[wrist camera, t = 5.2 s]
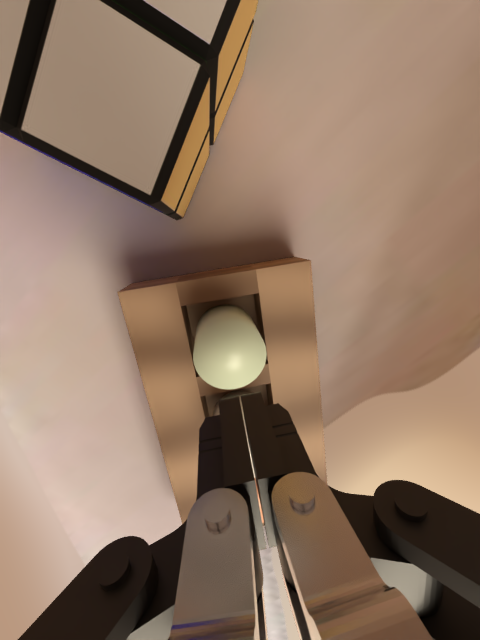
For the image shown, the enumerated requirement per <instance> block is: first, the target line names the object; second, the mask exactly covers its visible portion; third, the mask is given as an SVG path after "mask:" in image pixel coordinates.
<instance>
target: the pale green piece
mask: <svg viewBox="0 0 480 640" xmlns="http://www.w3.org/2000/svg"><path fill="white" fill-rule="evenodd" d="M266 355H267V354H266V346H265V343H264V341H263V339H262V337H261V335H260V333H259V331H258V330H257V328H256V326H255V324H254V322H253V320H252V318H251V317H250V315H249V314H248V313H247V312H246V311H245V310H243V309H242V308H240V307H238V306H235V305H230V304H223V305H218V306H215V307H213V308H211V309H209V310H208V311H206V312H205V313H204V314H203V316H202V317H201V318H200V320H199V322H198V325H197V329H196V337H195V344H194V352H193V361H194V366H195V369H196V371H197V373H198V374H199V376H200V377H201V378H202V379H203V380H204V381H205V382H207V383H208V384H210V385H211V386H213V387H216V388H220V389H237V388H241V387H244V386H246V385H248V384H250V383H251V382H252V381H254V380H255V379H256V378H257V377H258V376H259V374H260V373H261V372H262V370H263V368H264V365H265V362H266Z"/></svg>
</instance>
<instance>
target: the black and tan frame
mask: <svg viewBox="0 0 480 640" xmlns="http://www.w3.org/2000/svg"><path fill="white" fill-rule="evenodd" d="M257 4H258V0H0V132H2V133H3V134H5V135H7V136H9V137H11V138H13V139H15V140H17V141H19V142H21V143H23V144H25V145H27V146H29V147H31V148H33V149H35V150H37V151H39V152H41V153H43V154H45V155H47V156H49V157H51V158H53V159H55V160H57V161H59V162H61V163H63V164H65V165H67V166H69V167H71V168H73V169H75V170H77V171H79V172H81V173H83V174H85V175H87V176H89V177H91V178H93V179H95V180H97V181H99V182H101V183H103V184H105V185H107V186H109V187H111V188H113V189H115V190H117V191H119V192H121V193H123V194H125V195H127V196H129V197H131V198H134V199H136V200H138V201H140V202H142V203H144V204H146V205H148V206H150V207H152V208H154V209H156V210H158V211H160V212H162V213H164V214H166V215H168V216H170V217H172V218H174V219H176V220H179V219H181V218H183V217H184V215H185V212H186V210H187V207H188V205H189V202H190V200H191V198H192V195H193V193H194V190H195V188H196V185H197V183H198V181H199V178H200V176H201V173H202V171H203V169H204V166H205V164H206V161H207V159H208V156H209V146H210V145H213V144H214V142H215V140H216V137H217V135H218V132H219V130H220V127H221V125H222V123H223V120H224V118H225V115H226V113H227V111H228V108H229V106H230V103H231V101H232V98H233V96H234V94H235V91H236V89H237V86H238V84H239V81H240V79H241V77H242V74H243V71H244V66H245V61H246V56H247V52H248V47H249V42H250V37H251V33H252V28H253V23H254V20H253V17H254V15H255V12H256V8H257Z"/></svg>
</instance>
